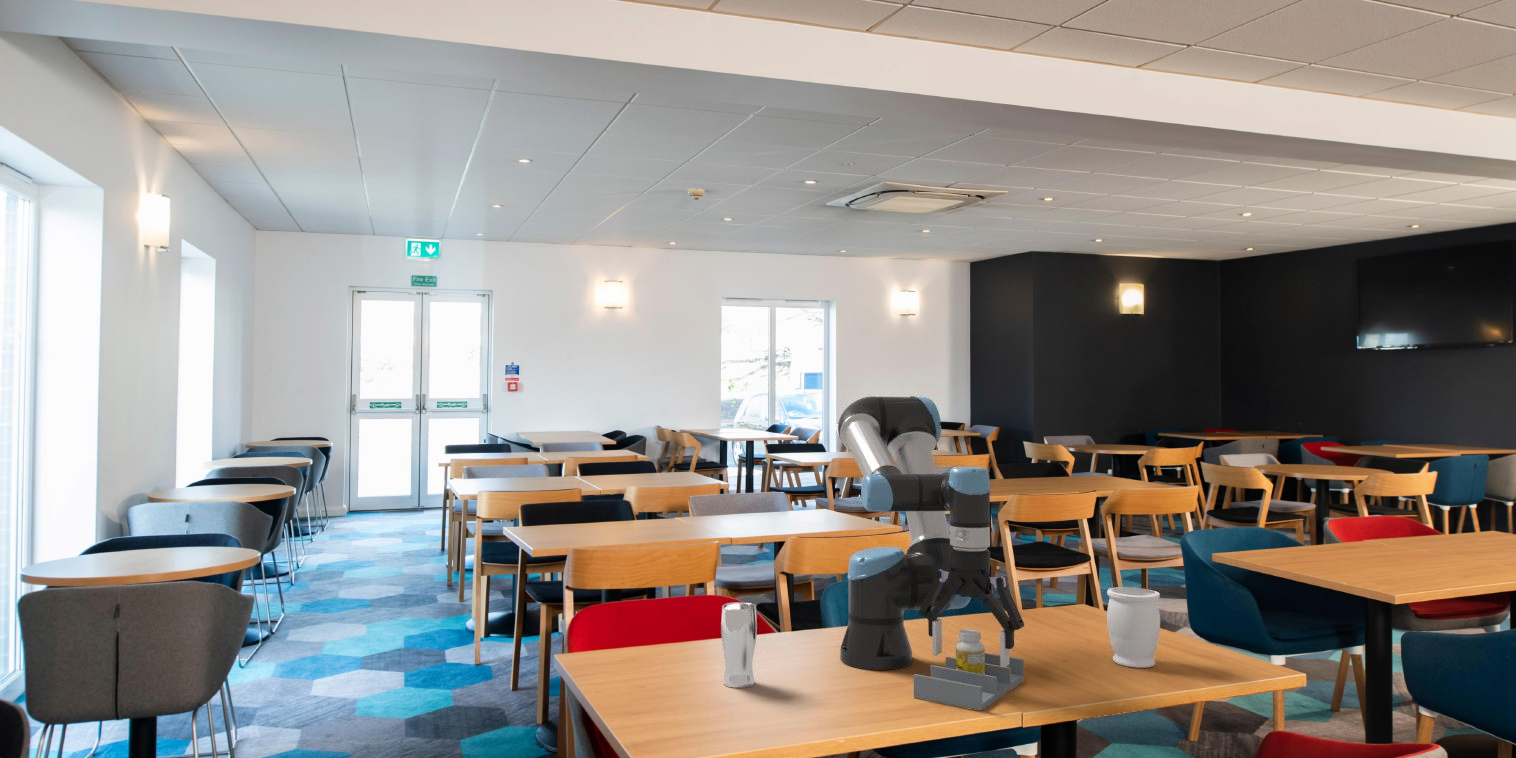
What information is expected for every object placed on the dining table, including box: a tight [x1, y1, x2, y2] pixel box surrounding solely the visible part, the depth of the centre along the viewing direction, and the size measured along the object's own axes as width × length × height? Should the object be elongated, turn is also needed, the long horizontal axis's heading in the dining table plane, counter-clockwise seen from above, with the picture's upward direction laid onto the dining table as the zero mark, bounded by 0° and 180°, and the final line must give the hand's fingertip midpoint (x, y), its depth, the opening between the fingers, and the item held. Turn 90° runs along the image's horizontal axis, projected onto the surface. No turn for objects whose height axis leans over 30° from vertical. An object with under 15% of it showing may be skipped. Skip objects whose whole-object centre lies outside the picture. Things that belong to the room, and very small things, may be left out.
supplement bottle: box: [955, 629, 986, 675], centre depth 174 cm, size 5×5×10 cm
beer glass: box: [720, 601, 758, 689], centre depth 178 cm, size 7×7×15 cm
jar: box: [1106, 586, 1161, 669], centre depth 192 cm, size 11×10×15 cm
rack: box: [913, 652, 1025, 712], centre depth 174 cm, size 13×22×4 cm, turn 145°
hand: (970, 659), depth 174 cm, fingers open, 13 cm apart
